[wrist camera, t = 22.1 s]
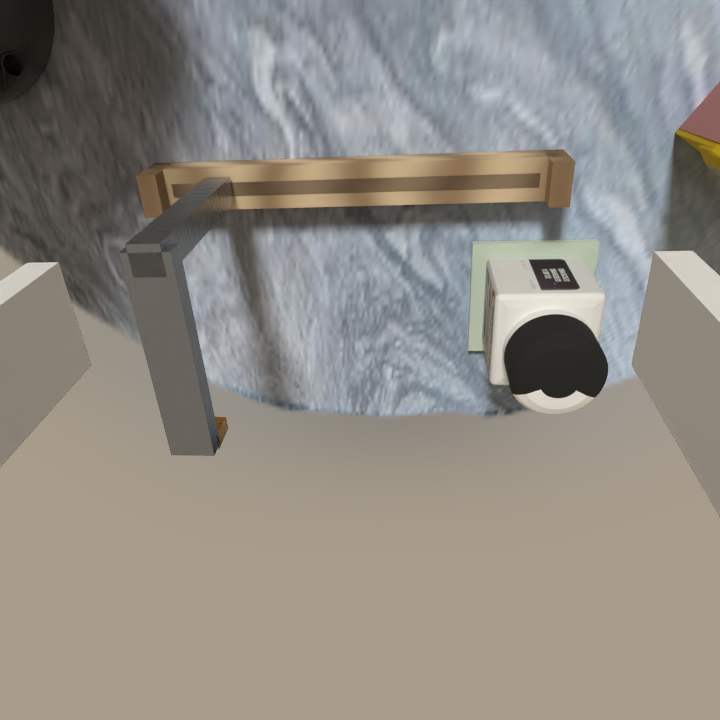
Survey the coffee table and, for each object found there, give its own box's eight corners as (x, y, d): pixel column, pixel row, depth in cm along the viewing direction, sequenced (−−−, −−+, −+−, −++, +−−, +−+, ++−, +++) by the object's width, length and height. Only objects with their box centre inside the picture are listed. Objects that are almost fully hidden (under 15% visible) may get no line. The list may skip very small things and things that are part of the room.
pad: (467, 347, 56) (468, 350, 55) (472, 241, 51) (472, 244, 50) (581, 347, 55) (583, 350, 54) (597, 239, 50) (599, 241, 49)
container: (486, 256, 51) (505, 330, 39) (582, 255, 50) (630, 329, 39) (481, 339, 54) (497, 427, 43) (571, 339, 54) (610, 428, 43)
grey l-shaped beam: (229, 351, 55) (172, 457, 42) (198, 177, 47) (116, 244, 34) (262, 350, 55) (214, 458, 42) (236, 176, 47) (168, 243, 34)
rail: (163, 202, 51) (145, 217, 48) (155, 163, 50) (135, 175, 46) (558, 192, 48) (569, 207, 45) (563, 149, 46) (575, 161, 43)
